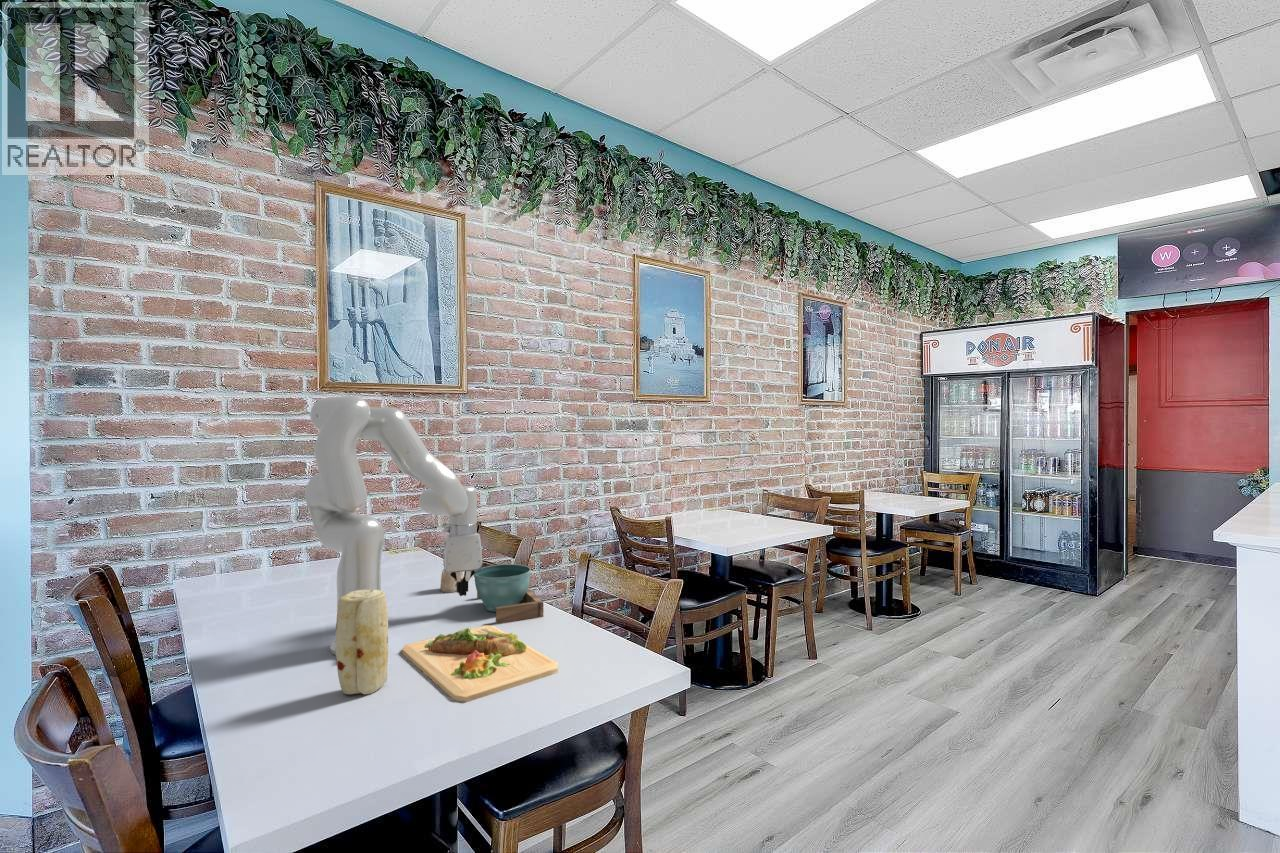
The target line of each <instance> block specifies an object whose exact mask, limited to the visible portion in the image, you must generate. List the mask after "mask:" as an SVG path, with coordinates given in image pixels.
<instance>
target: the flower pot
mask: <svg viewBox="0 0 1280 853" xmlns="http://www.w3.org/2000/svg"><path fill="white" fill-rule="evenodd" d="M531 571H532V570H531V567H529V566H527V565H523V564H514V563H513V564H511V563H510V564H505V563H504V564H494V565H489V566H484V567H483V566H482V571H481V572H479V573H476V574H474V575H473V577H474V584H475V589H476V593H477V592H478V595H479V597H480V598H481V599H480V600H481V601H482V602H483V604H484V605H485V609H486V610H487V611H489V612H495V613H496V607H501V606H508V605H515V604H521V602H522V601H521V600H522V599H523V597H524V595H525V594H526V591H527V589H529V584H530V579H531Z"/></svg>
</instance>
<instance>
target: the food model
mask: <svg viewBox="0 0 1280 853" xmlns="http://www.w3.org/2000/svg"><path fill="white" fill-rule="evenodd" d="M335 625H336V626H335V641H336V655H335V656H336V668H337V675H338V676H337V677H338V681H339V685H340V688H341V692H342V693H343V694H345V695H355V694H362V695H370V694H373V693H375V692H377V691H378V690H379V689H380V688H382V687H383V686H384V684H385V683H386V682H387V680H388V676H389V675H388V674H389V673H388V666H389V664H388V662H389V660H388V659H389V619H388V609H387V598H386V593H385V592H384V591H383V590H381V591H380V590H357V591H353V592H350V593H348V594H346V595H344V596H342V597H341V598H340V599H339V601H338V609H337V608H336V624H335Z"/></svg>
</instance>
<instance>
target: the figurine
mask: <svg viewBox="0 0 1280 853" xmlns="http://www.w3.org/2000/svg"><path fill="white" fill-rule="evenodd" d="M460 574H461V579H463V577H464V573H463V571H462V572H460ZM440 591H441V593H447V594H449V593H450V594H451V593H453V594H454V593H457V581H456V580H455V579H454V578H453V577H452V576H444V575H443V570H442V572H441V577H440Z"/></svg>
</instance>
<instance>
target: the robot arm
mask: <svg viewBox="0 0 1280 853" xmlns="http://www.w3.org/2000/svg"><path fill="white" fill-rule="evenodd" d="M309 416H310V421H311V423H312V424H313V425H314V427H315V428H317V429H318V430H319V433H318V435H317V438H316V441H315V444H314V445H315V446H314V455H315V456H314V458H315V461H316V465H317V466H316V467H317V471H318V473H316V474H314V475H313V476H312V477H311V478H310V479H309V481H308V482H307V484H306V487H305V503H306V505H307V509H308V512H309V514H310V519H311V521H312V524H313V527H314V531H315V533H316V537H317V538H318V540H319V542H320V543H321V545H322V546H323V547H325V548H326V549H328V550H330V551H332V552H333V551H334V552H338V553H341V556H340V558H339V563H338V566H337V571H336V610H337V609H338V601H339V599H340V598H341V597H342V596H344V595H346V594H348V593H350V592H353V591H357V590H380V591H382V583H381V582H382V579H381V578H382V574H381V572H382V571H381V570H382V567H381V566H382V565H381V564H382V557H383V556H382V555H383V549H384V544H385V538H386V536H385V529H384V526H383V525H382V524H381V522H380V521H379V520H377V519H376V518H375V517H373V516H371V515H368V514H367V515H366V514H360V513H355V512H357V511H360V510H361V509H362V508H363V507H364V506H365V504H366V502H367V499H368V490H367V486H366V483H365V480H364V477H363V473H362V471H361V466H360V463H359V459H358V455H357V443H358V442H357V441H358V439H360V440H365V441H366V440H368V441H379V442H380V443H381V445H382V447H383V448H384V449H385V450H386V453H388V456H390V458H391V459H392V461H393V463H394V464H395V465H396V467H397V468H398V470H399V471H400V472H402V473H404V474H405V475H406V476H408V477H411V478H413V479H414V480H417V481H419V482H421V483H422V484H424V485H426V486H427V487H428V488H426V489H425V490H423V491H422V493H421V494H420V495H419V498H418V505H419V507H420V509H421V510H423V512H425V513H427V514H429V515H435V516H444V517H448V525H447V526H443V532H444V533H448V534H446V537H445V541H444V549H443V563H442V564H443V569H442V571H443V575H444V576H452V577H453V578H454V579H455V580H456V581H457V592H456V593H457V594H458V595H459V596H460V597H462V596H464V597H465V596H467V592H469V581H470V580H471V578H472V577H474V574H476V573H479V572H481V571H482V568H483V549H482V541H481V540H482V539H481V534H480V533H478V532H477V523H478V522H477V519H478V518H477V517H478V515H477V513H478V512H477V511H478V510H477V509H478V502H477V501H478V493H477V492H478V490H477V488H476V487H474V486H473V485H462V483H461V481H460V480H459V479H458V477H457V476H456V474H455V473H454V472H453V471H452V470H451V469H450V468H449V467H448V466H446V465H445V464H444V463H443V462H442V461H441V460H439V459H438V458H437V457H436V456H434V455H433V454H432V453H431V452H430V451H429V450H428V449H427V447H426V446H425V443H424V442H423V441H422V439H421V437H420V436H419V434H418V433H417V431H416V429H415V428H414V426H413V425H412V423H411V422H410V420H409V418H408V417H407V415H406V414H405V413H404V412H403V411H402V410H401V409H399V408H397V407H392V406H383V407H382V406H381V407H372V406H370V405H369V403H368V402H367V401H366V400H365V399H363V398H362V397H359V396H354V395H353V396H352V395H349V396H348V395H347V396H343V395H342V396H332V397H324V398H321V399H318V401H316V402H315V403H314V404H313V405H312V407H311V409H310V413H309ZM460 572H462V573H463V579H461V574H460ZM329 652H330V653H331V654H332V655H335V656H336V640H335V641H333V642H332V643H331V644H330V646H329Z"/></svg>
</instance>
